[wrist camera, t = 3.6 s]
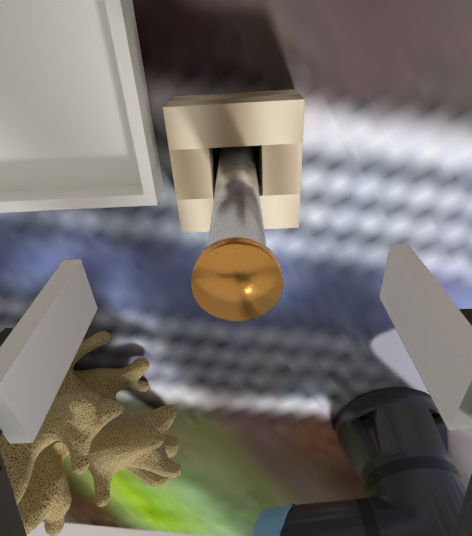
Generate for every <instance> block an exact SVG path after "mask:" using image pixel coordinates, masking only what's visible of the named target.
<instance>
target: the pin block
mask: <svg viewBox="0 0 472 536" xmlns="http://www.w3.org/2000/svg"><path fill="white" fill-rule="evenodd" d="M304 101H305V99H304V98H303V97H302V96H301V95H300V94H299V93H298V92H297V91H296V90H295V89H291V90H273V91H256V92H238V93H221V94H204V95H186V96H173V97H172V98H171V99H170V100H169V101H168V102H167V103H166V104H165V105H164V106H163V114H164V120H165V127H166V134H167V140H168V147H169V153H170V160H171V167H172V173H173V180H174V187H175V193H176V200H177V207H178V213H179V220H180V227H181V233H190V232H209V231H210V224H211V216H212V209H213V201H214V194H215V186H216V179H217V177H216V168H215V156H214V148H220V147H239V146H258V145H259V167H260V175H257V181H258V189H259V196H260V203H261V211H262V218H263V225H264V229H277V228H299V211H300V189H301V167H302V145H303V123H304Z"/></svg>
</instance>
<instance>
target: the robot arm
mask: <svg viewBox="0 0 472 536" xmlns="http://www.w3.org/2000/svg"><path fill="white" fill-rule="evenodd" d="M379 298H380V300H381V301H382V303H383V305H384V307H385V309H386V311H387V313H388V315H389V317H390V319H391V321H392V323H393V324H394V326H395V328H396V330H397V332H398V334H399V336H400V338H401V340H402V342H403V344H404V346H405V347H406V349H407V351H408V353H409V355H410V357H411V359H412V361H413V363H414V365H415V367H416V369H417V371H418V372H419V374H420V376H421V378H422V380H423V382H424V384H425V386H426V388H427V389H428V392H429V393H430V395H429V394H427V393H425V392H422V391H419V390H415V389H410V388H389V389H382V390H378V391H374V392H371V393H368V394H365V395H363V396H361V397H359V398H357V399H355V400H353V401H352V402H350V403H349V404H348V405H347V406H345V407H344V408H343V409H342V411H341V412H340V413H339V415H338V416H337V419H336V422H335V431H336V435H337V439H338V442H339V445H340V447H341V449H342V451H343V452H344V454H345V456H346V457H347V459H348V461H349V462H350V464H351V465H352V467H353V469H354V470H355V472H356V474H357V475H358V477H359V478H360V480H361V482H362V484H363V487H364V491H365V495H366V498H362V499H351V500H341V501H331V502H321V503H311V504H301V505H295V504H294V503H291V504H289V505H288V506H284V507H278V508H272V509H267V510H264V511H263V512H261V513H260V515H259V516H258V517H257V519H256V521H255V524H254V527H253V530H252V535H251V536H472V475H471V478H470V481H469V484H468V488H467V489H466V487H465V485H464V483H463V481H462V479H461V477H460V475H459V473H458V471H457V469H456V467H455V465H454V462H453V456H452V449H451V443H450V436H449V430H469V429H470V430H471V429H472V309H458V308H457V306H456V305H455V304H454V302H453V301H452V300H451V299H450V297H449V296H448V295H447V293H446V292H445V291H444V290H443V288H442V287H441V286H440V284H439V283H438V282H437V281H436V279H435V278H434V277H433V275H432V274H431V273H430V272H429V270H428V269H427V268H426V266H425V265H424V264H423V262H422V261H421V260H420V259H419V257H418V256H417V255H416V253H415V252H414V251H413V250H412V248H411V247H410V246H409V244H408V245H390V248H389V253H388V257H387V262H386V267H385V272H384V277H383V281H382V286H381V291H380V296H379ZM97 309H98V308H97V305H96V302H95V299H94V296H93V293H92V290H91V287H90V285H89V282H88V279H87V276H86V273H85V270H84V267H83V264H82V261H81V259H76V260H63V261H62V263H61V264H60V265H59V267H58V268H57V269H56V271H55V272H54V274H53V275H52V276H51V278H50V279H49V281H48V282H47V283H46V285H45V286H44V287H43V289H42V290H41V292H40V293H39V294H38V296H37V297H36V299H35V300H34V301H33V303H32V304H31V305H30V307H29V308H28V310H27V311H26V312H25V314H24V315H23V317H22V318H21V319H20V321H19V322H18V323H17V325H16V326H15V328H5V329H4V330H3V331H2V332H0V436H1V434H2V433H3V435H4V436H5V438H6V439H7V441H8V442H9V443H10V444H15V443H33V442H34V440H35V438H36V436H37V434H38V432H39V430H40V428H41V426H42V423H43V421H44V419H45V417H46V415H47V413H48V411H49V409H50V407H51V405H52V403H53V401H54V398H55V396H56V394H57V392H58V390H59V388H60V386H61V384H62V382H63V380H64V378H65V376H66V374H67V371H68V369H69V367H70V365H71V363H72V361H73V359H74V357H75V355H76V353H77V351H78V349H79V347H80V344H81V342H82V340H83V338H84V336H85V334H86V332H87V330H88V328H89V326H90V324H91V322H92V319H93V317H94V315H95V313H96V311H97ZM0 536H27V535H26V532H25V528H24V525H23V522H22V519H21V516H20V512H19V509H18V506H17V503H16V500H15V497H14V493H13V490H12V487H11V484H10V481H9V477H8V474H7V471H6V468H5V465H4V462H3V458H2V455H1V452H0Z"/></svg>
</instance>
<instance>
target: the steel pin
mask: <svg viewBox="0 0 472 536" xmlns="http://www.w3.org/2000/svg"><path fill="white" fill-rule="evenodd" d="M191 289H192V294H193V296H194V298H195V300H196V302H197V303H198V304H199V306H200V307H201V308H202V309H203V310H205V311H206V312H207V313H209V314H211V315H212V316H214V317H217V318H220V319H223V320H227V321H246V320H251V319H254V318H257V317H260V316H262V315H263V314H265V313H267V312H268V311H269V310H270V309H272V308H273V307H274V305H275V304H276V303H277V302H278V300H279V298H280V296H281V293H282V289H283V279H282V273H281V268H280V264H279V262H278V259H277V258H276V256H275V255H274V253H273V252H272V251H271V250H270V249H269V248H267V247H266V240H265V233H264V225H263V218H262V211H261V203H260V196H259V189H258V181H257V174H256V166H255V159H254V152H253V148H252V146H239V147H221V150H220V156H219V164H218V171H217V179H216V186H215V194H214V201H213V209H212V216H211V224H210V231H209V239H208V246H207V247H206V248H205V249H204V250H203V251H202V252H201V253H200V255H199V256H198V258H197V259H196V262H195V264H194V268H193V273H192V278H191Z"/></svg>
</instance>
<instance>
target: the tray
mask: <svg viewBox="0 0 472 536" xmlns="http://www.w3.org/2000/svg"><path fill="white" fill-rule="evenodd" d="M163 192H164V186H163V180H162V174H161V168H160V162H159V156H158V150H157V144H156V138H155V132H154V126H153V120H152V114H151V108H150V102H149V96H148V90H147V84H146V78H145V72H144V67H143V61H142V55H141V49H140V43H139V37H138V31H137V25H136V19H135V13H134V7H133V1H132V0H0V213H7V212H28V211H48V210H69V209H90V208H110V207H131V206H152V205H158V203H159V201H160V198H161V196H162V194H163Z"/></svg>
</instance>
